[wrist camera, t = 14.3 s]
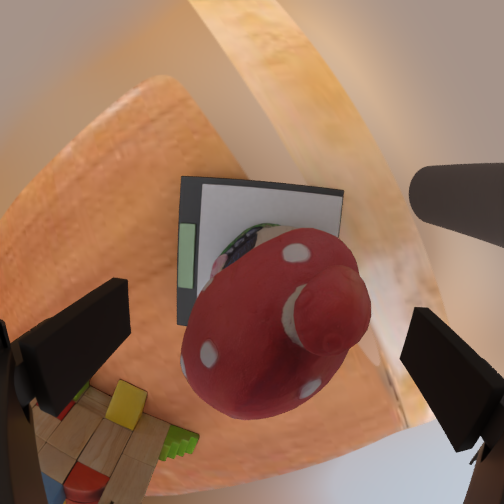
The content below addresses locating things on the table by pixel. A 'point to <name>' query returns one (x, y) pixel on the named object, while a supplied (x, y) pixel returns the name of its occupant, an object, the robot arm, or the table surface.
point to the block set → (104, 447)
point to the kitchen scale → (239, 222)
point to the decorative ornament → (274, 321)
